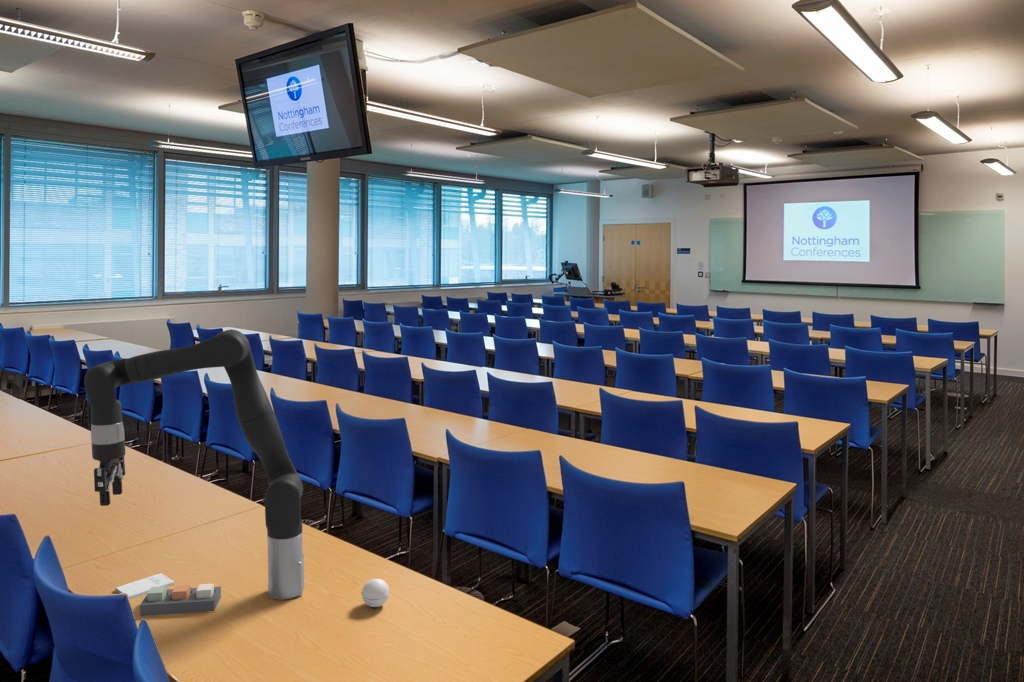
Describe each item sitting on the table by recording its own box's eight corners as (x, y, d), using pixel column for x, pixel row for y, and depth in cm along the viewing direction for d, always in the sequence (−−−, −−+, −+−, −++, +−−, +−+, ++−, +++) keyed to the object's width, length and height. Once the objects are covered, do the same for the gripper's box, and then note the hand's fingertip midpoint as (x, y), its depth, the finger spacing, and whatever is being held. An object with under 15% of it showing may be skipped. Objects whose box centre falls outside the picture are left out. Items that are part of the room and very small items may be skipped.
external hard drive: (115, 592, 195) (160, 577, 204) (128, 602, 190) (174, 586, 199) (114, 587, 194) (160, 572, 204) (127, 596, 189) (174, 580, 199)
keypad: (221, 596, 192) (220, 586, 192) (214, 611, 185) (213, 600, 184) (150, 601, 189) (149, 590, 189) (140, 616, 181) (139, 605, 181)
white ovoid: (379, 596, 195) (379, 571, 194) (394, 606, 190) (394, 580, 189) (347, 608, 188) (347, 582, 187) (362, 619, 183) (362, 592, 182)
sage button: (166, 598, 188) (166, 586, 187) (162, 604, 184) (162, 592, 184) (152, 599, 187) (151, 587, 187) (147, 605, 184) (147, 593, 183)
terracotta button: (190, 596, 189) (190, 584, 188) (187, 603, 185) (186, 591, 185) (176, 597, 188) (175, 585, 188) (172, 604, 185) (171, 592, 184)
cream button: (214, 595, 190) (213, 583, 189) (211, 601, 186) (210, 589, 186) (200, 596, 189) (199, 584, 189) (196, 602, 186) (196, 590, 185)
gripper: (113, 446, 177) (117, 508, 179) (133, 432, 191) (136, 490, 192) (80, 447, 175) (84, 510, 177) (103, 433, 189) (106, 491, 191)
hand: (111, 499), depth 185 cm, fingers open, 8 cm apart
